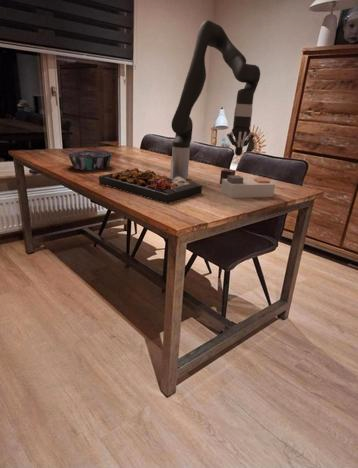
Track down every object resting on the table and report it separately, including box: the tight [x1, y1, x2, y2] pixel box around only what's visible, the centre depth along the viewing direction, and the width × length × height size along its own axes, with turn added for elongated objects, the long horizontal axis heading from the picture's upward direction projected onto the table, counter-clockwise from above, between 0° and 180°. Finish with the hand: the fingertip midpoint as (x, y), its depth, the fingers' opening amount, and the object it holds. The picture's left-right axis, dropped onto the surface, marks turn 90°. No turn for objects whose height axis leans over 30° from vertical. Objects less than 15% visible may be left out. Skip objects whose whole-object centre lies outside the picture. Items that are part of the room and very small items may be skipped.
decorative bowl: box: [67, 149, 114, 171], centre depth 195 cm, size 26×28×10 cm
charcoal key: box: [227, 174, 244, 184], centre depth 153 cm, size 6×6×4 cm
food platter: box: [98, 167, 203, 204], centre depth 157 cm, size 45×25×10 cm, turn 51°
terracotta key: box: [253, 177, 271, 183], centre depth 158 cm, size 6×6×4 cm
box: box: [219, 168, 236, 185], centre depth 174 cm, size 6×6×7 cm
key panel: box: [220, 178, 276, 199], centre depth 157 cm, size 22×12×6 cm, turn 105°
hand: (238, 155), depth 149 cm, fingers closed
